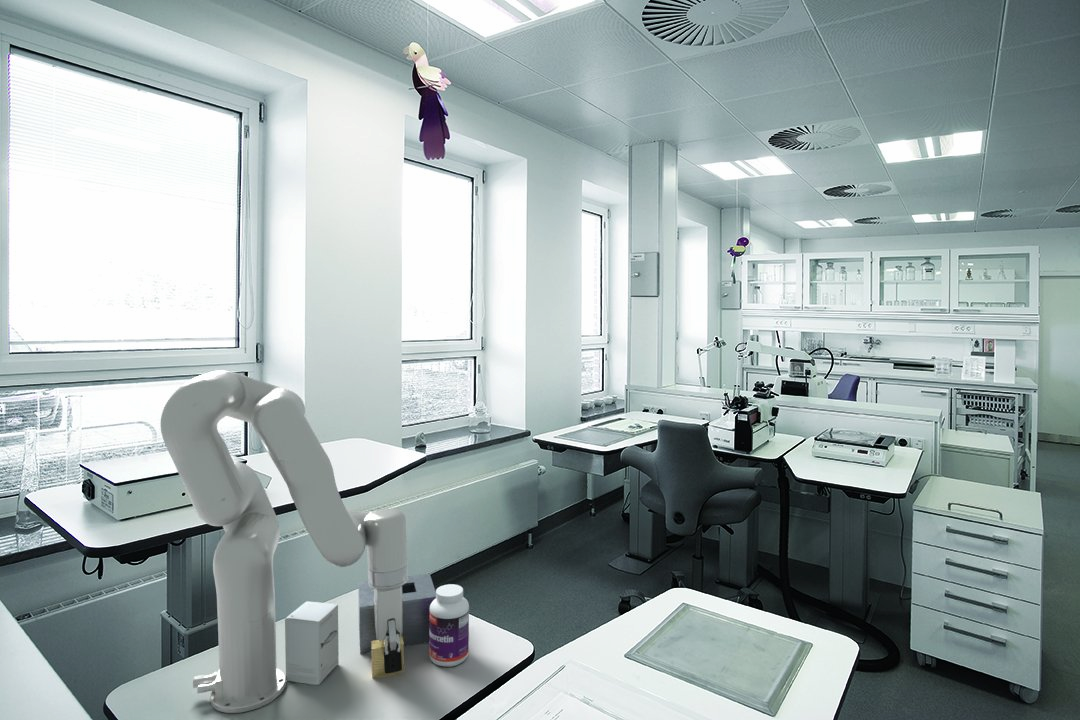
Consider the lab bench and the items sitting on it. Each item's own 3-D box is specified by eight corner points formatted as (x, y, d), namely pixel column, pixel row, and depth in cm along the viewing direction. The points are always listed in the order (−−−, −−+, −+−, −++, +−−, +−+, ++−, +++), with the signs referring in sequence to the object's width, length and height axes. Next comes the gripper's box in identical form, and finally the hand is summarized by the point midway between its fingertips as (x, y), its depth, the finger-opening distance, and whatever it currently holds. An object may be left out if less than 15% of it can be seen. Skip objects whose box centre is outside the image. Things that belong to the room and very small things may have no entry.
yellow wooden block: (372, 678, 115) (372, 648, 114) (371, 670, 118) (371, 640, 117) (403, 673, 117) (403, 643, 116) (402, 664, 119) (402, 636, 119)
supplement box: (319, 686, 112) (318, 621, 111) (284, 681, 114) (283, 617, 113) (340, 664, 119) (339, 603, 119) (307, 659, 121) (305, 599, 120)
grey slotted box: (360, 653, 123) (359, 607, 122) (358, 625, 134) (358, 582, 134) (437, 641, 128) (437, 596, 127) (429, 614, 140) (429, 573, 139)
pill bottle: (421, 662, 120) (420, 593, 119) (445, 643, 127) (445, 578, 126) (453, 673, 117) (453, 602, 116) (476, 653, 124) (476, 586, 123)
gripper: (366, 559, 123) (369, 638, 124) (370, 596, 106) (373, 687, 108) (403, 554, 125) (406, 632, 126) (412, 590, 109) (415, 678, 110)
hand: (391, 657), depth 117 cm, fingers open, 9 cm apart
